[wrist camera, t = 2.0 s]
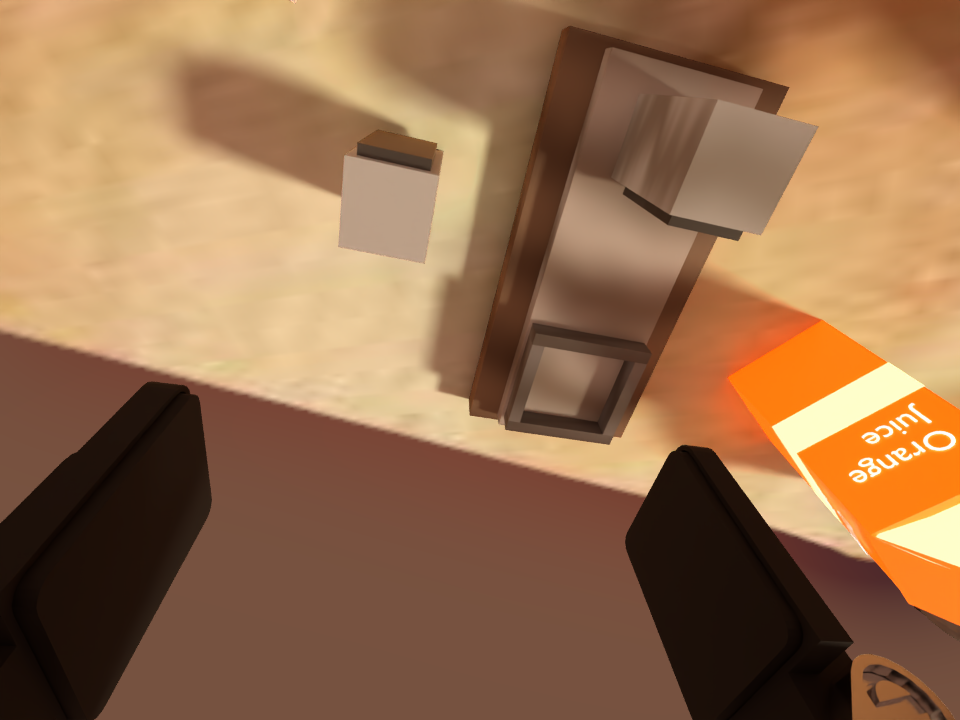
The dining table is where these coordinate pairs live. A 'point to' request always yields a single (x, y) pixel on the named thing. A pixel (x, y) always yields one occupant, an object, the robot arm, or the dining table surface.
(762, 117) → the rail board
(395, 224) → the white block dark cap
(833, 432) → the orange juice
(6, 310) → the dining table surface
